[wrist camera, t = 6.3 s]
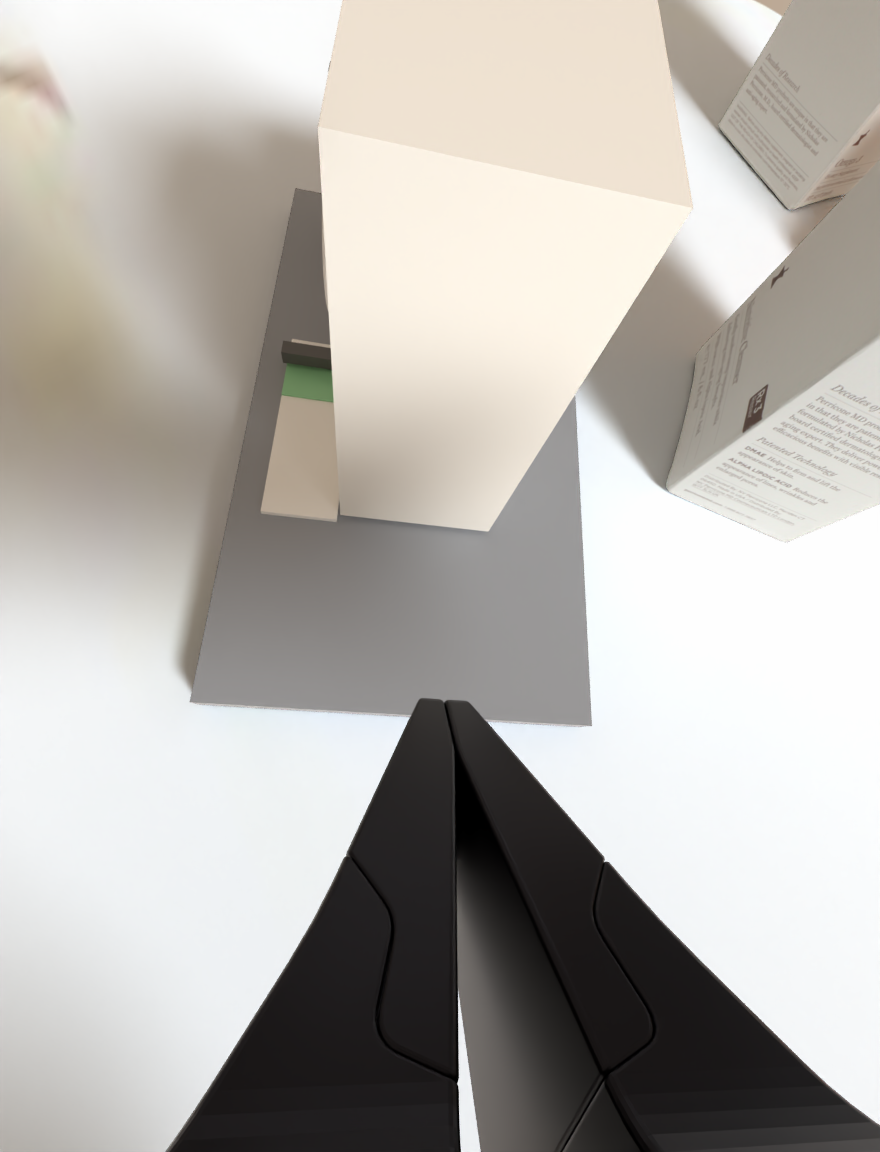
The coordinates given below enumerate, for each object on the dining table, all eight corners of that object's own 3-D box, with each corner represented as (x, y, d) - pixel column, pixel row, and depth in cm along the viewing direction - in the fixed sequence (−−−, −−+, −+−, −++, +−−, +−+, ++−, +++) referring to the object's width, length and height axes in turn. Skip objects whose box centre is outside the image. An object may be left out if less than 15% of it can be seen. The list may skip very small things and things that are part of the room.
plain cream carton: (488, 531, 17) (692, 208, 7) (258, 505, 16) (86, 76, 6) (492, 316, 20) (636, -128, 10) (299, 283, 19) (236, -255, 9)
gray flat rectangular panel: (578, 726, 17) (595, 725, 15) (199, 704, 15) (187, 701, 14) (558, 262, 24) (569, 237, 22) (297, 212, 22) (295, 181, 21)
